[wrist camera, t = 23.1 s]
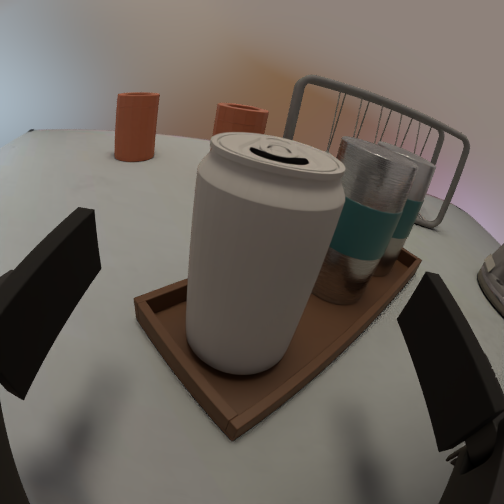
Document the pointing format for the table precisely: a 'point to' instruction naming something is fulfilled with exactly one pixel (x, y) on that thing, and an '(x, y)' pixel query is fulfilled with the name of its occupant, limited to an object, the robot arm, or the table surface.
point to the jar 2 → (239, 119)
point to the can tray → (281, 374)
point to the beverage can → (257, 246)
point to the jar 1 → (136, 126)
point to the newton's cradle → (395, 107)
